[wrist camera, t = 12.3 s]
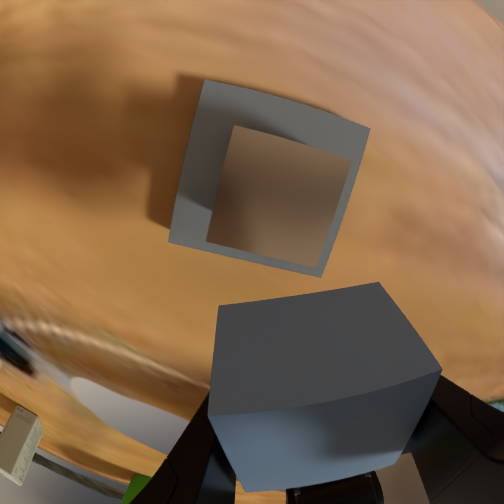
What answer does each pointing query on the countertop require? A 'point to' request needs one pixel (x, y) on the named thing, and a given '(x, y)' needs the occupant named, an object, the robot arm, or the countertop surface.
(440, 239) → the countertop surface
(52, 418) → the countertop surface
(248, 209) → the walnut cube
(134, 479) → the cup
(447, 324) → the countertop surface
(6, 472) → the skincare box
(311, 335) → the slate block
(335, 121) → the slate pad
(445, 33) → the countertop surface
